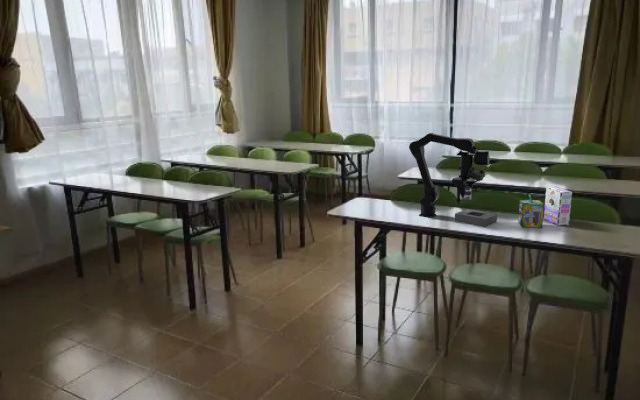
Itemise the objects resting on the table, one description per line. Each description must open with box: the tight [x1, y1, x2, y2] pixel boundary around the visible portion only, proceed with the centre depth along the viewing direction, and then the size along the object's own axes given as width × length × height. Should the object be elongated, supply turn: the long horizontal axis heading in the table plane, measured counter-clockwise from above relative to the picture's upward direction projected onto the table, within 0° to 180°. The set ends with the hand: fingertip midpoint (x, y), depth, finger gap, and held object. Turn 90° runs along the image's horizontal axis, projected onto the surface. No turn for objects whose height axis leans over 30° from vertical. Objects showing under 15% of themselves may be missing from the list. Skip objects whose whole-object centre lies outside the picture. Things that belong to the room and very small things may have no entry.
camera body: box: [454, 208, 498, 228], centre depth 240 cm, size 16×12×4 cm
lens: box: [459, 186, 473, 201], centre depth 242 cm, size 6×6×6 cm
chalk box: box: [517, 193, 545, 229], centre depth 232 cm, size 9×9×15 cm
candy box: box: [543, 186, 573, 227], centre depth 236 cm, size 14×6×16 cm, turn 3°
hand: (465, 196), depth 242 cm, fingers closed on lens, 6 cm apart
